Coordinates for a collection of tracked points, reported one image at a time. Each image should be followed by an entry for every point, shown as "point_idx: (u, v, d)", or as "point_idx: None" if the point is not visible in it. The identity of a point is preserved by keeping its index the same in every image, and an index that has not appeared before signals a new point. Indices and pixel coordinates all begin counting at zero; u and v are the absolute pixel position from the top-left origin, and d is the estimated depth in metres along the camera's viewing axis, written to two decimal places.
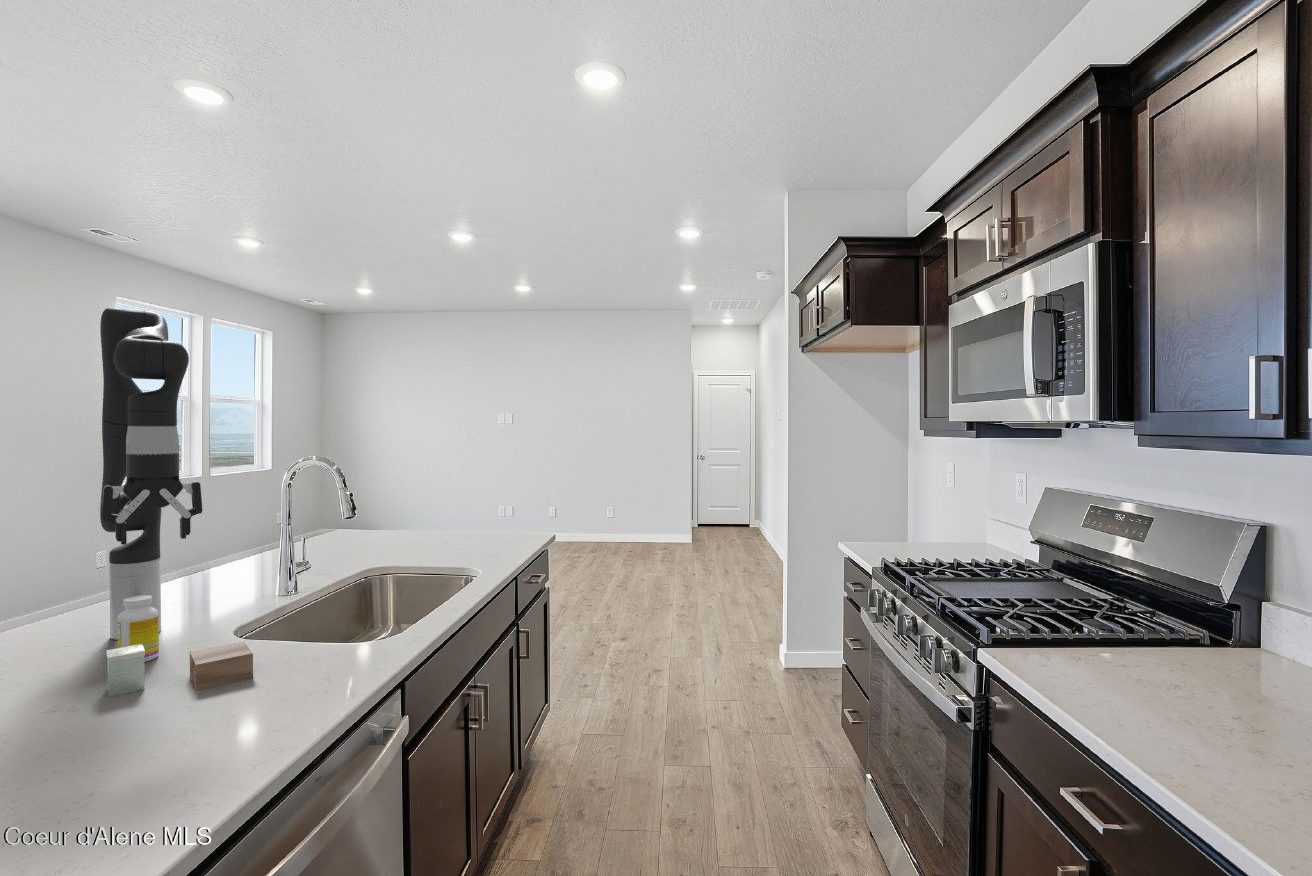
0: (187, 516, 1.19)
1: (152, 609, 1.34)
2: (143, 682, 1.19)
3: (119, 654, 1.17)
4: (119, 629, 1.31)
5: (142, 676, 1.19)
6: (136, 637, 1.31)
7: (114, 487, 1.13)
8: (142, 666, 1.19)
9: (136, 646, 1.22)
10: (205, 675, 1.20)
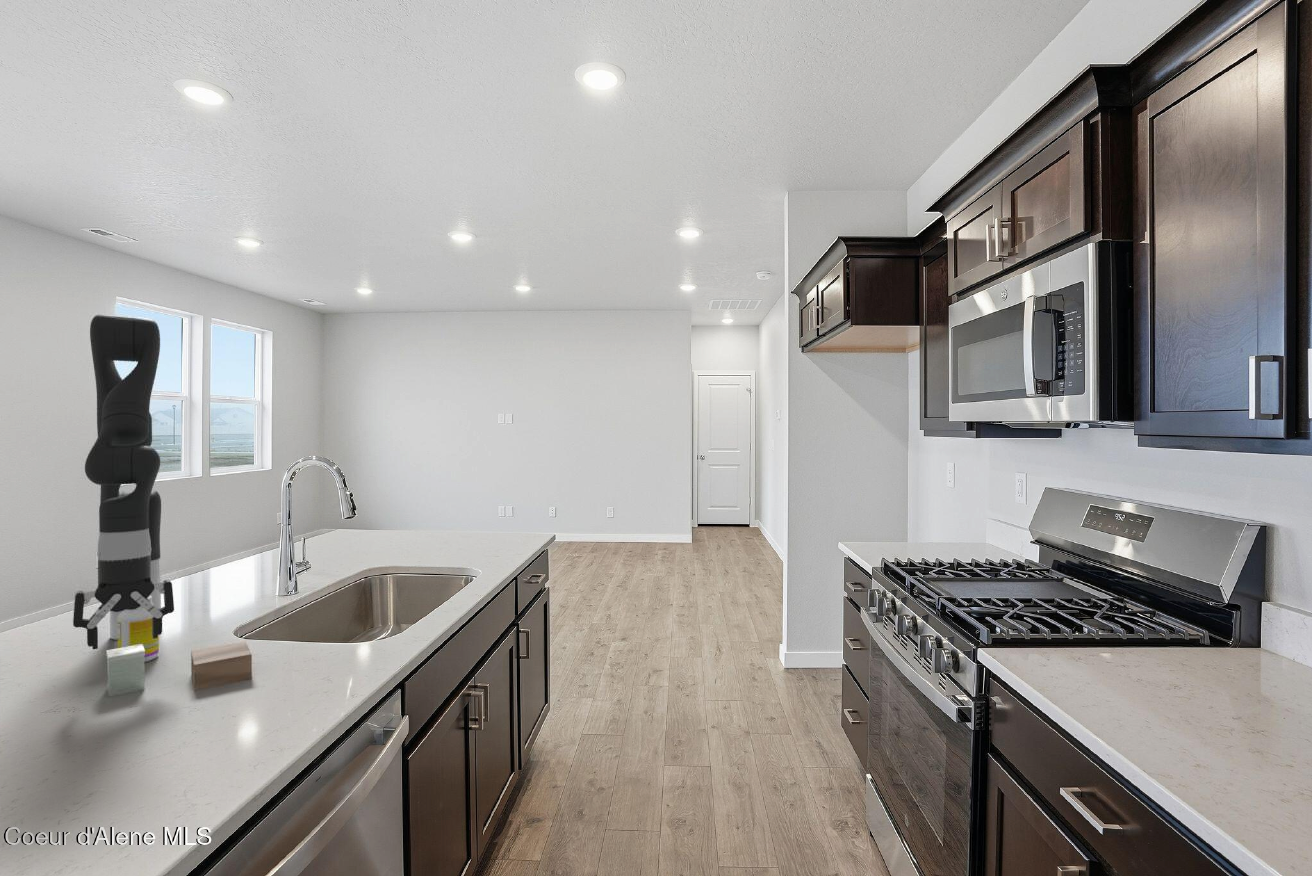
0: (159, 616, 1.21)
1: None
2: (143, 682, 1.19)
3: (119, 654, 1.17)
4: (119, 629, 1.31)
5: (142, 676, 1.19)
6: (136, 637, 1.31)
7: (85, 593, 1.15)
8: (142, 666, 1.19)
9: (136, 646, 1.22)
10: (204, 675, 1.20)
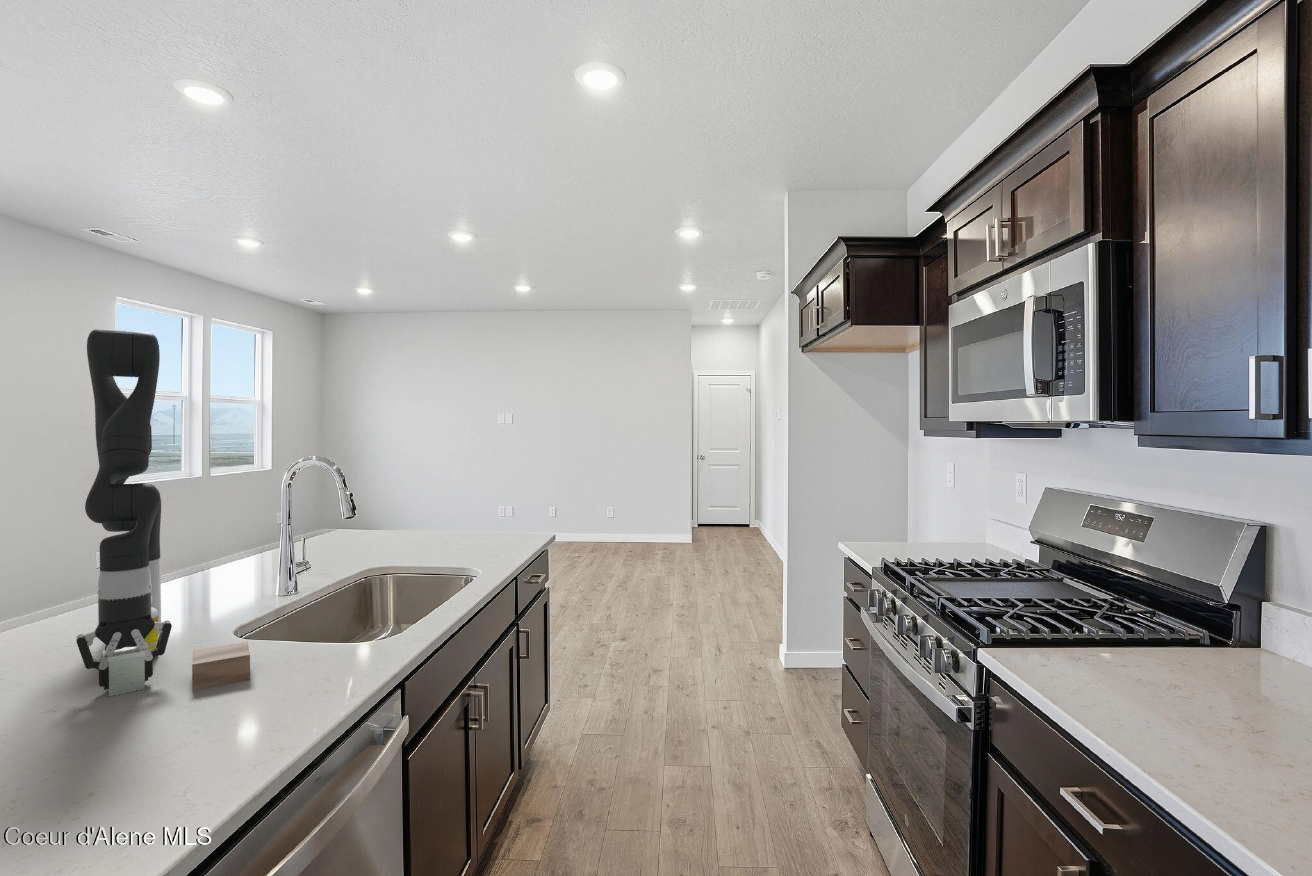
0: (149, 659, 1.21)
1: (152, 609, 1.34)
2: (143, 682, 1.19)
3: (120, 654, 1.17)
4: None
5: (142, 676, 1.19)
6: None
7: (86, 636, 1.15)
8: (142, 666, 1.19)
9: (136, 646, 1.22)
10: (202, 675, 1.20)
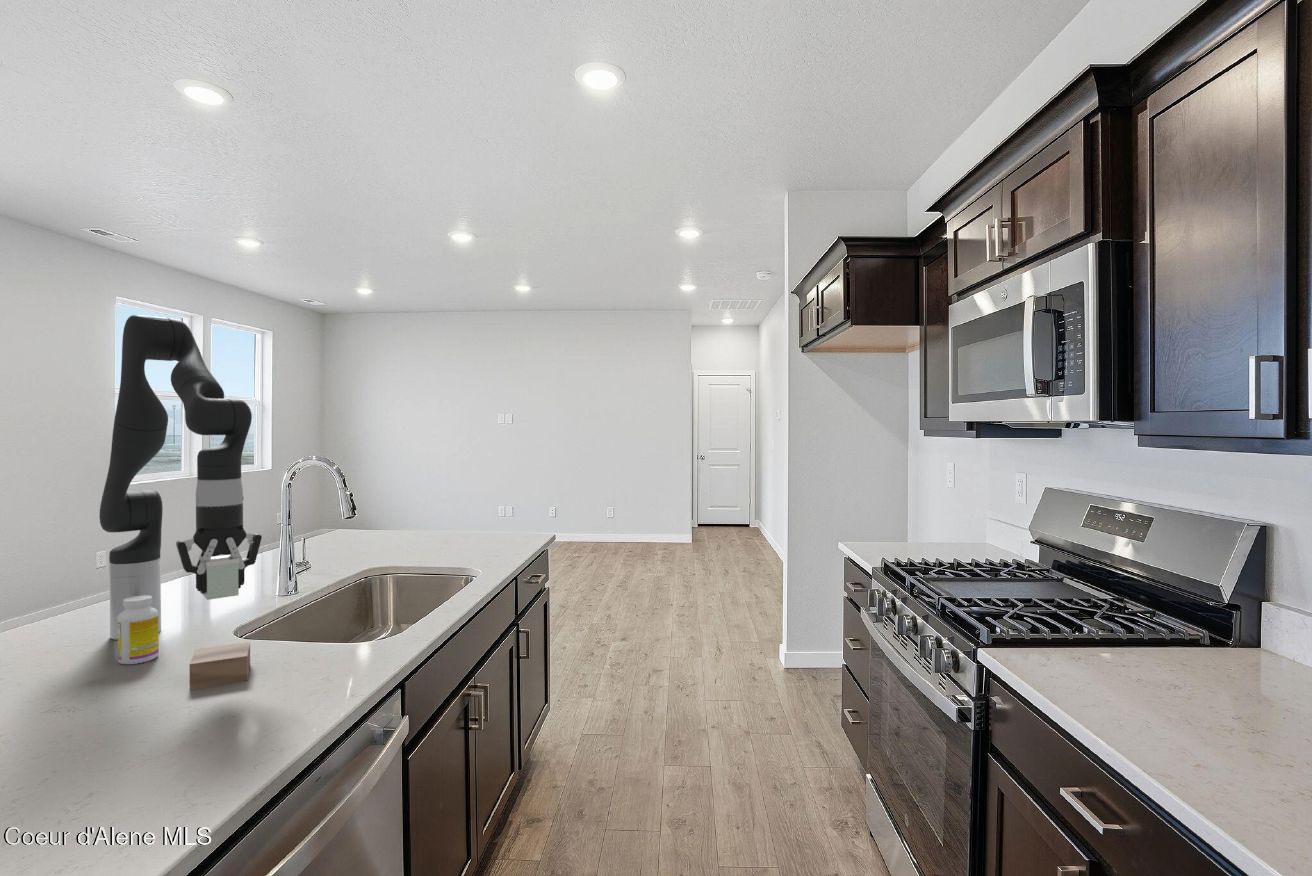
0: (241, 567, 1.26)
1: (152, 609, 1.34)
2: (237, 588, 1.25)
3: (216, 560, 1.22)
4: (119, 629, 1.31)
5: (236, 582, 1.24)
6: (136, 637, 1.31)
7: (185, 541, 1.21)
8: (236, 573, 1.24)
9: (229, 555, 1.27)
10: (199, 675, 1.20)
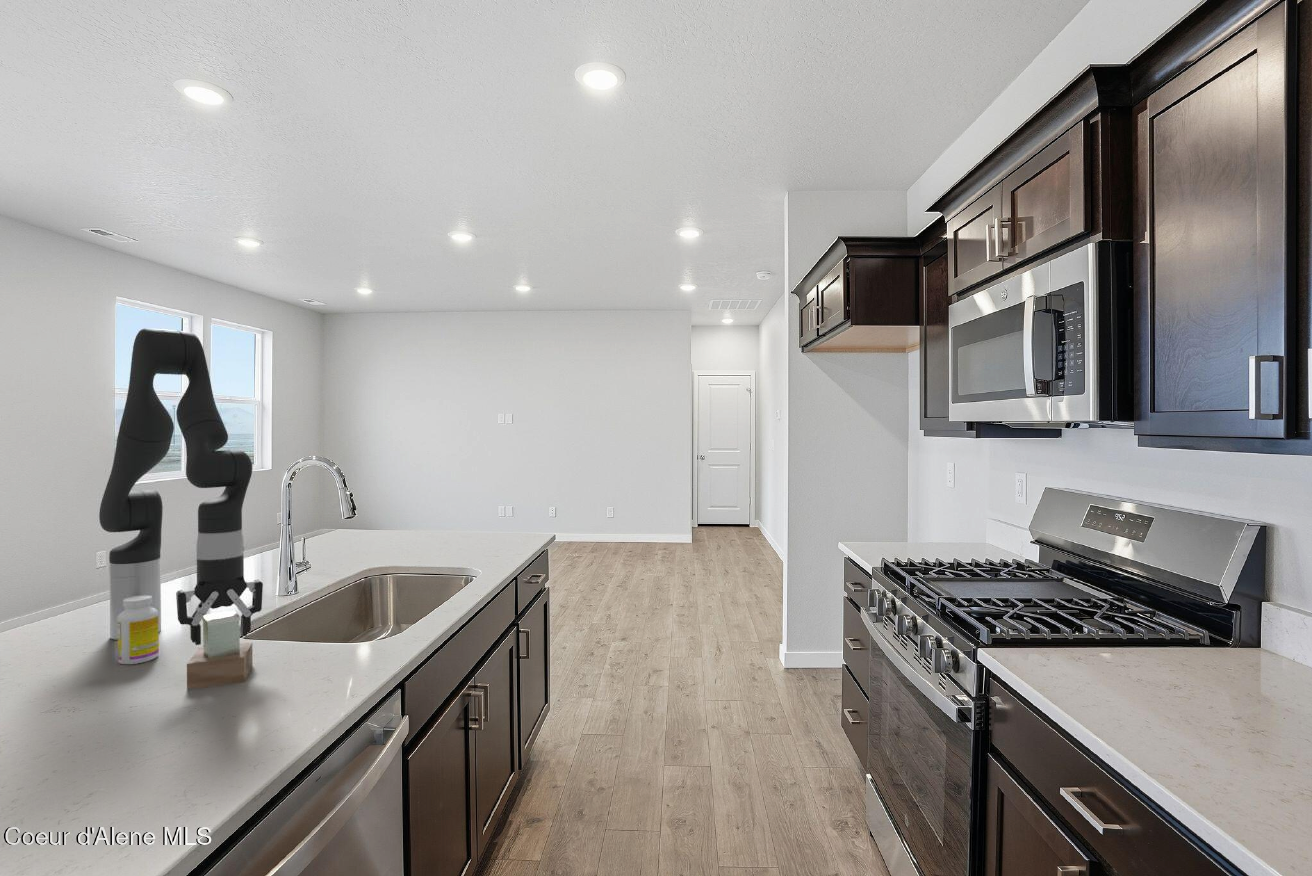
0: (248, 615, 1.27)
1: (152, 609, 1.34)
2: (238, 646, 1.25)
3: (217, 619, 1.23)
4: (119, 629, 1.31)
5: (237, 640, 1.25)
6: (136, 637, 1.31)
7: (186, 592, 1.21)
8: (237, 630, 1.25)
9: (229, 612, 1.27)
10: (196, 675, 1.20)
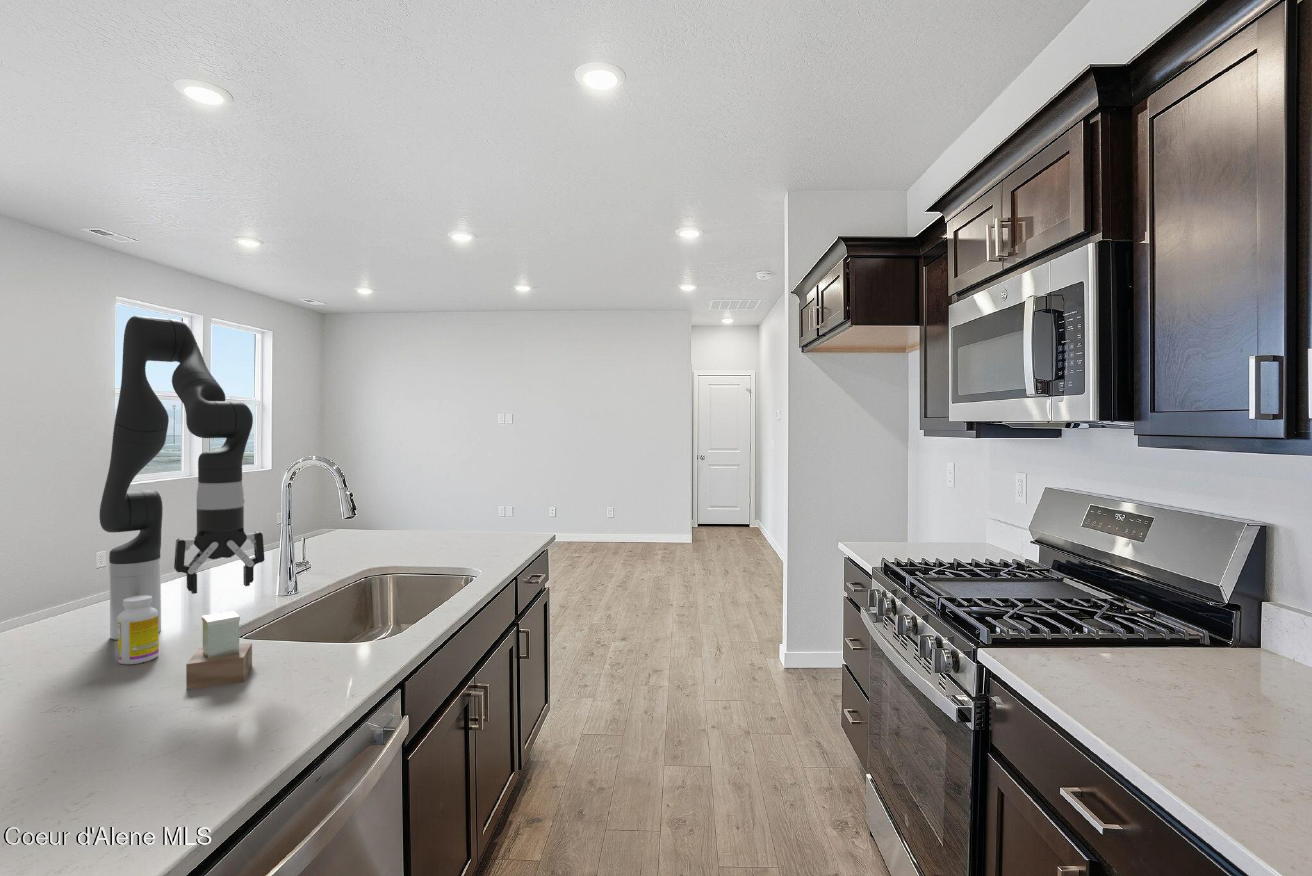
0: (251, 565, 1.27)
1: (152, 609, 1.34)
2: (238, 646, 1.25)
3: (217, 619, 1.23)
4: (119, 629, 1.31)
5: (237, 640, 1.25)
6: (136, 637, 1.31)
7: (186, 540, 1.21)
8: (237, 631, 1.25)
9: (229, 612, 1.27)
10: (196, 675, 1.20)
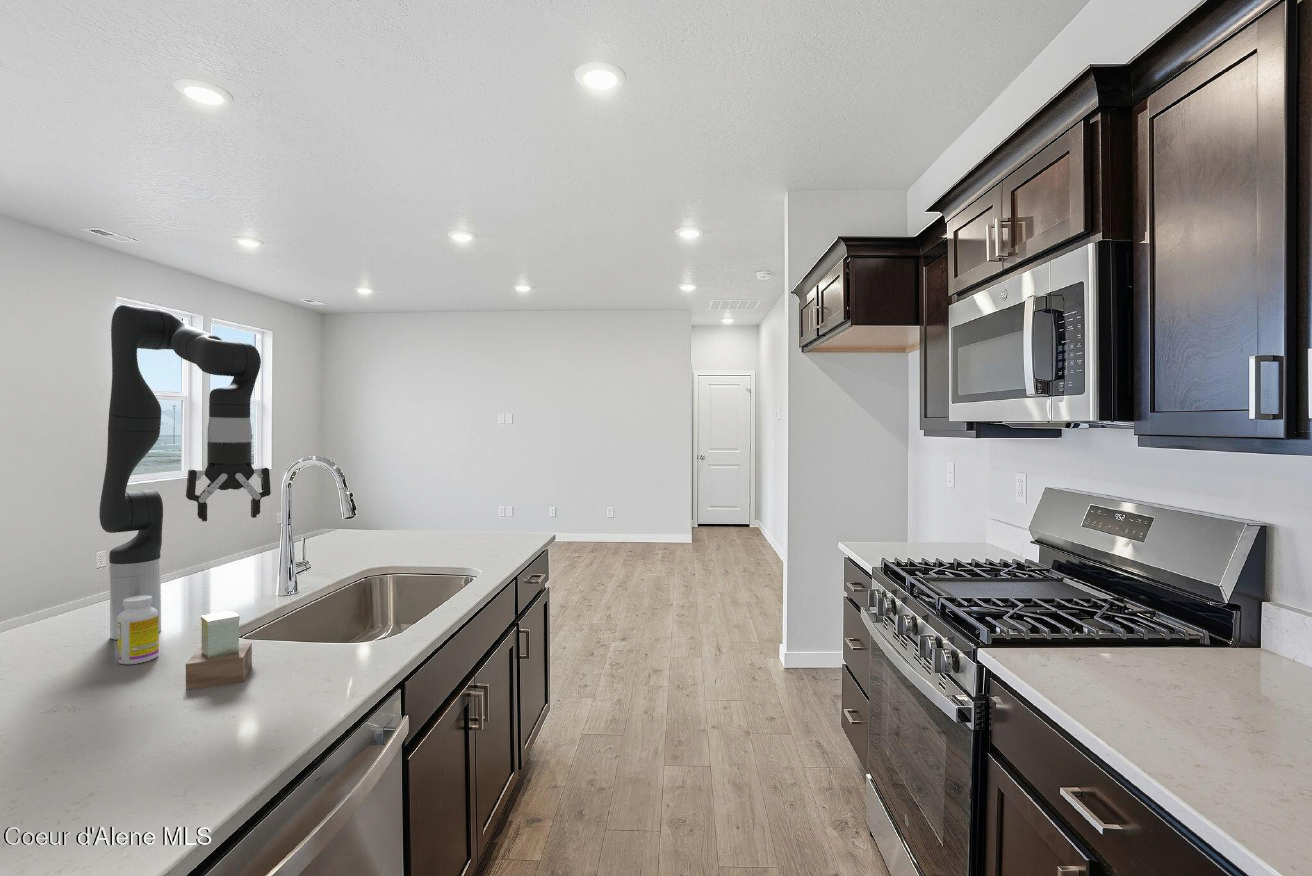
0: (258, 498, 1.35)
1: (152, 609, 1.34)
2: (237, 646, 1.25)
3: (217, 619, 1.23)
4: (119, 629, 1.31)
5: (237, 640, 1.25)
6: (136, 637, 1.31)
7: (197, 471, 1.28)
8: (237, 630, 1.25)
9: (228, 612, 1.27)
10: (195, 675, 1.20)
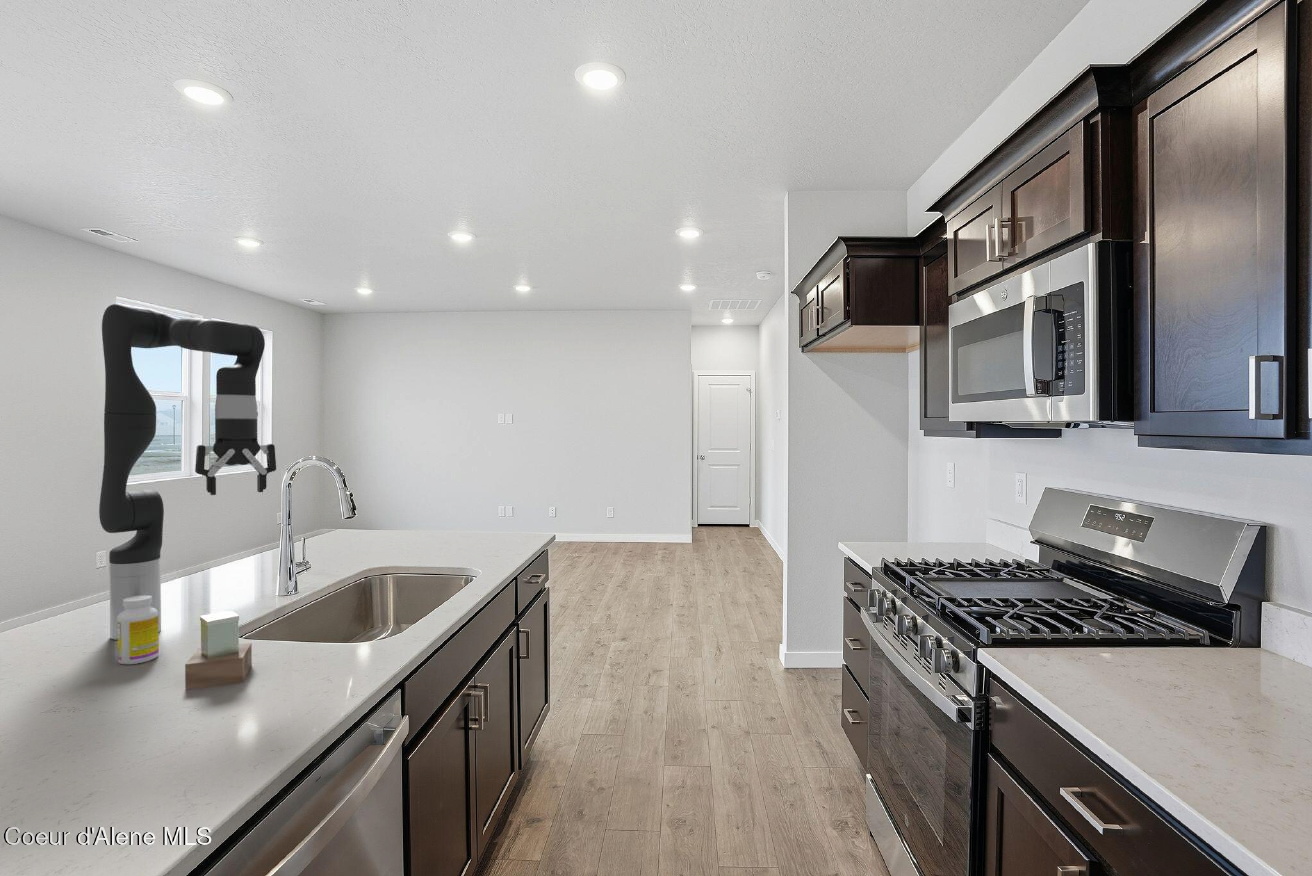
0: (264, 473, 1.40)
1: (152, 609, 1.34)
2: (237, 645, 1.25)
3: (217, 619, 1.23)
4: (119, 629, 1.31)
5: (236, 640, 1.25)
6: (136, 637, 1.31)
7: (206, 446, 1.33)
8: (236, 630, 1.25)
9: (227, 612, 1.27)
10: (194, 675, 1.20)
